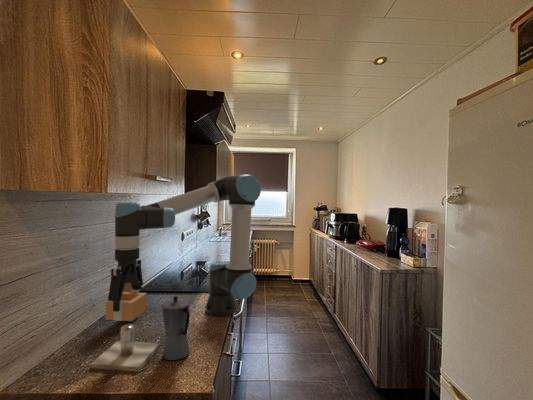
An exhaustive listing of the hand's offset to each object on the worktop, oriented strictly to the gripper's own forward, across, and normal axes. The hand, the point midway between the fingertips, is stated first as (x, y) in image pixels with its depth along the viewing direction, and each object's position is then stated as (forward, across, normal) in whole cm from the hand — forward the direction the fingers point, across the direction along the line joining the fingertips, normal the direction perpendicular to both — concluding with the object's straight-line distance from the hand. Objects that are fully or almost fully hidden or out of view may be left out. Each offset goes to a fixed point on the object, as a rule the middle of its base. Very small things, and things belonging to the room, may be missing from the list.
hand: (126, 313), depth 96 cm
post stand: (+15, 0, 0) cm, 15 cm away
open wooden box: (0, 0, 0) cm, 0 cm away
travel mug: (+15, -27, -16) cm, 35 cm away
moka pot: (+15, -4, +16) cm, 23 cm away
